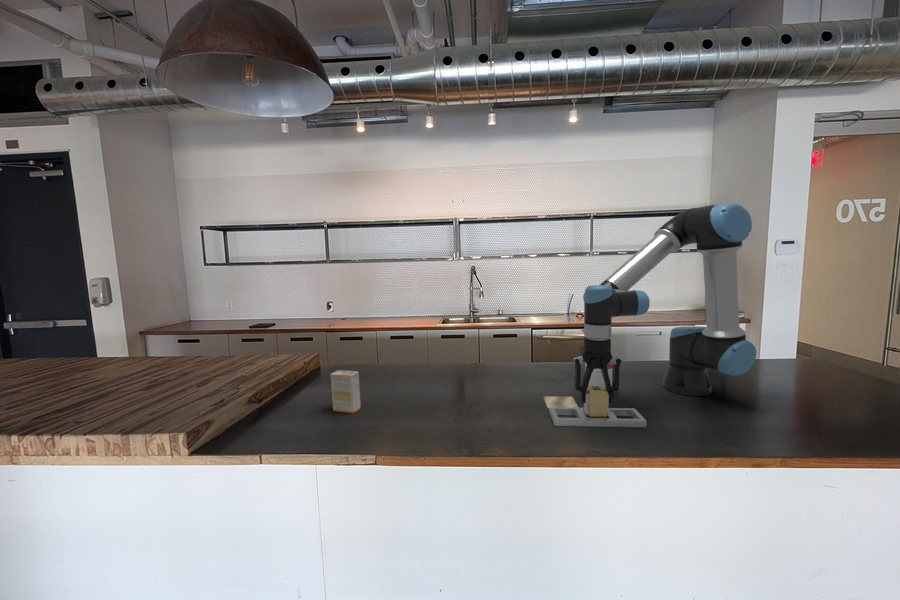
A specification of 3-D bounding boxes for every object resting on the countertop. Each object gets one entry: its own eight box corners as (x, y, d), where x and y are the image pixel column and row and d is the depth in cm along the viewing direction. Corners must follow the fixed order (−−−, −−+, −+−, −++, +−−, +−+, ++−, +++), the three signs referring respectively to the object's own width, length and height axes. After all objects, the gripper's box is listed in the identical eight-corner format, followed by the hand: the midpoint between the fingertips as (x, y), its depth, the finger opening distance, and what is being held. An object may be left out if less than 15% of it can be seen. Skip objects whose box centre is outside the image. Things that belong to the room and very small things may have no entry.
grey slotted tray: (634, 414, 119) (634, 408, 118) (646, 427, 110) (646, 420, 109) (549, 413, 121) (549, 407, 121) (554, 425, 112) (554, 419, 112)
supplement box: (361, 408, 129) (359, 371, 127) (353, 414, 124) (351, 375, 123) (340, 405, 132) (338, 369, 130) (332, 411, 127) (329, 373, 126)
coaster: (572, 397, 133) (572, 396, 133) (579, 409, 124) (579, 408, 123) (543, 397, 134) (543, 396, 134) (547, 408, 125) (547, 407, 124)
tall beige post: (601, 416, 118) (602, 384, 116) (606, 423, 113) (607, 390, 111) (585, 416, 118) (585, 384, 117) (589, 423, 113) (589, 390, 112)
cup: (617, 397, 132) (618, 370, 131) (587, 396, 134) (587, 369, 133) (611, 388, 142) (611, 362, 141) (583, 386, 144) (583, 361, 143)
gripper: (624, 334, 115) (622, 408, 118) (563, 335, 117) (562, 407, 120) (633, 340, 108) (631, 418, 110) (568, 340, 110) (567, 417, 112)
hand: (595, 412), depth 115 cm, fingers closed on tall beige post, 5 cm apart
